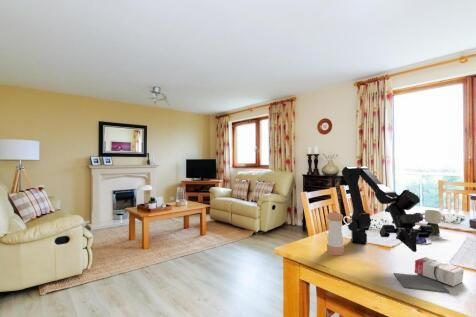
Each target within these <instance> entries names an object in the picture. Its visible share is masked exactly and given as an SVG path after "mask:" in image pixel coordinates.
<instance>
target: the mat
mask: <svg viewBox="0 0 476 317" xmlns="http://www.w3.org/2000/svg"><path fill="white" fill-rule="evenodd" d="M393 274H394V276H395V277H396V279H397V280H398V282H399V283H400V285H401V286H402V287H403V288H404V289H412V290H413V289H414V290H421V291H431V292H437V291H439V292H438V293H447V294H448V293H449V294H450V290H448V289H447V287H445V286H444V285H443V283H442V282H440V281H437V280H434V279H431V278H428V277H426V276H423V275H420V274H408V273H400V272H393Z"/></svg>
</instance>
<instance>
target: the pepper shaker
mask: <svg viewBox="0 0 476 317" xmlns="http://www.w3.org/2000/svg"><path fill="white" fill-rule="evenodd" d="M326 218H327V219H328V234H327V244H326V252H327V254H329V255H332V256H343V255H344V254H345V250H344V249H345V247H344V243H343V242H344V237H343V236H344V235H343V232H342V230H343V229H342V221H343V220H344V215H343V214H342V213H340V212H337V210H333V211H331V212H329V213H328V214H327V216H326Z"/></svg>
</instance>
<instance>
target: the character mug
mask: <svg viewBox="0 0 476 317" xmlns="http://www.w3.org/2000/svg"><path fill="white" fill-rule="evenodd" d="M420 213H421V215H422V217H423V220H425V222H426V223H427V224H426V225H430V226H432V227H433V229H434V231H435V232H434V233H433V234H432V235H439V234H440V232H441V231H440V226H439V224H440V223H441V222H445V221H446V215H442V214H441V213H442V212H441V211H439V210H435V209H425V210H424V212H420ZM441 218H442V219H441Z"/></svg>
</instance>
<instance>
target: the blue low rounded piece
mask: <svg viewBox="0 0 476 317" xmlns="http://www.w3.org/2000/svg"><path fill="white" fill-rule="evenodd" d="M416 244H420V245H421V244H423V245H424V244H427V245H428V244H432V240H431V239H429V238H420V237H418V236H417V238H416Z"/></svg>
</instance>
